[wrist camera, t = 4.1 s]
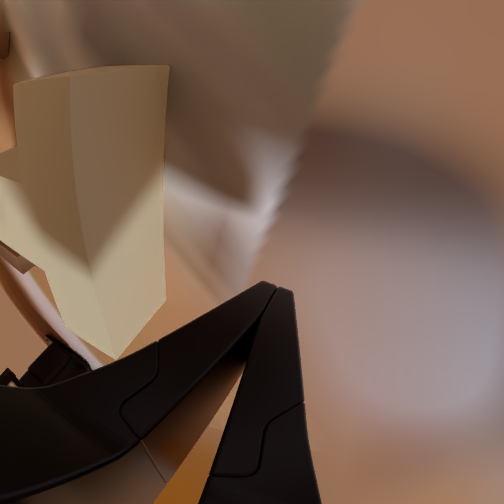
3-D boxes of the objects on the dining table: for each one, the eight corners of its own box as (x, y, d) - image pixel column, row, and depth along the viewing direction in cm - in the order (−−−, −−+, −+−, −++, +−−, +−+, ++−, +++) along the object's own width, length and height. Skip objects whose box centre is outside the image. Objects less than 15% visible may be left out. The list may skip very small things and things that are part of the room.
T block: (166, 299, 14) (116, 359, 11) (58, 246, 15) (10, 284, 12) (170, 65, 8) (70, 76, 5) (38, 73, 10) (-33, 94, 6)
